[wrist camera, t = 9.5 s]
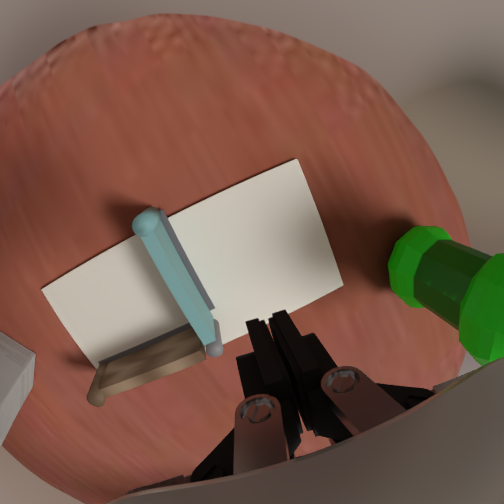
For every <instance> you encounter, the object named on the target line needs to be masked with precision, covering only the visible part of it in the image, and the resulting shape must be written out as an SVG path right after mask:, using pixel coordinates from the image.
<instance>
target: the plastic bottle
mask: <svg viewBox="0 0 504 504" xmlns="http://www.w3.org/2000/svg"><path fill="white" fill-rule="evenodd" d="M388 271H389V280H390V286H391V289H392V291H393V292H394V293H395V294H396V295H397V296H398V297H399V298H401V299H402V300H403V301H404V302H405V303H406V304H407V305H409V306H410V307H415V308H422V307H426V308H427V309H429V310H430V311H431V312H433V313H434V314H436V315H437V316H439V317H440V318H441V319H443V320H444V321H446V322H447V323H448V324H450V325H451V326H453V327H454V328H455V329H457V330H458V331H459V341H460V342H461V343H462V345H463V346H464V347H465V349H466V350H467V351H468V352H469V353H470V355H472V357H473V358H474V359H475V360H476V361H477V362H478V363H479V364H481V365H482V366H483V365H485V364H487V363H489V362H491V361H494V360H496V359H498V358H502V357H504V253H501V254H495V255H494V256H490V255H488V254H485V253H482V252H480V251H478V250H475V249H473V248H470V247H468V246H465V245H462V244H460V243H457V242H455V241H453V240H452V239H451V237H450V236H449V235H448V233H447V232H446V231H445V230H444V229H443V228H440V227H437V226H416V227H413V228H412V229H410V230H409V231H408V232H407V233H406V234H405V235H403V236H402V237H401V238H400V239H399V240H398V241H397V242H396V243H395V246H394V249H393V251H392V254H391V256H390V259H389V261H388Z"/></svg>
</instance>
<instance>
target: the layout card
mask: <svg viewBox="0 0 504 504" xmlns="http://www.w3.org/2000/svg"><path fill="white" fill-rule="evenodd" d="M160 213H161V222H162V224H163V226H164V227H165V229H166V231H167V233H168V235H169V237H170V239H171V241H172V243H173V245H174V247H175V249H176V251H177V252H178V254H179V256H180V258H181V260H182V262H183V264H184V266H185V267H186V269H187V271H188V273H189V275H190V277H191V278H192V280H193V282H194V284H195V286H196V287H197V289H198V291H199V293H200V295H201V296H202V298H203V300H204V302H205V303H206V305H207V307H208V309H209V310H210V312H211V314H212V316H213V319H216V320H217V321H218V322H219V326H220V333H221V339H222V344H225V343H227V342H229V341H231V340H233V339H236V338H238V337H240V336H242V335H244V334H247V333H248V330H247V326H246V323H245V321H249V320H252V319H255V318H258V319H259V321H261V320H265V323H266V324H268V323H269V321H268V318H271V317H272V313H275V312H278V311H281V310H284V309H285V310H286V311H287V313H288V314H289V313H291V312H293V311H295V310H297V309H299V308H301V307H303V306H305V305H307V304H309V303H311V302H313V301H315V300H316V299H318V298H320V297H322V296H324V295H326V294H328V293H330V292H332V291H334V290H336V289H337V288H339V287H341V286H343V282H342V279H341V276H340V273H339V270H338V267H337V264H336V261H335V258H334V255H333V252H332V249H331V246H330V243H329V241H328V238H327V235H326V232H325V229H324V227H323V224H322V221H321V218H320V216H319V213H318V210H317V208H316V205H315V202H314V200H313V197H312V194H311V192H310V189H309V187H308V184H307V182H306V179H305V177H304V174H303V172H302V169H301V167H300V164H299V162H298V159H294V160H292V161H289V162H287V163H285V164H282V165H280V166H277V167H275V168H273V169H270V170H268V171H266V172H264V173H261V174H259V175H257V176H255V177H252V178H250V179H248V180H246V181H243V182H241V183H239V184H237V185H235V186H232V187H230V188H228V189H226V190H224V191H222V192H220V193H217V194H215V195H213V196H211V197H209V198H207V199H205V200H203V201H201V202H199V203H197V204H194V205H192V206H190V207H188V208H186V209H184V210H182V211H180V212H178V213H176V214H174V215H172V216H170V217H168V218H167V216H166V214H165V212H164V210H163V209H162V210H160ZM41 290H42V292H43V293H44V295H45V297H46V298H47V300H48V301H49V303H50V305H51V306H52V308H53V309H54V311H55V313H56V314H57V316H58V317H59V319H60V320H61V322H62V323H63V325H64V326H65V328H66V329H67V331H68V332H69V333H70V335H71V336H72V338H73V339H74V340H75V342H76V343H77V345H78V346H79V347H80V349H81V350H82V351H83V353H84V354H85V355H86V357H87V358H88V359H89V361H90V362H91V363H92V364H93V366H94V367H95V368H96V369H98V367H99V364H100V363H101V362H108V363H109V362H112V361H114V360H117V359H119V358H121V357H124V356H126V355H129V354H131V353H134V352H136V351H138V350H141V349H143V348H145V347H148V346H150V345H152V344H155V343H157V342H159V341H162V340H164V339H166V338H169V337H171V336H173V335H176V334H178V333H180V332H182V331H185V330H187V329H189V328H191V327H192V326H191V324H190V322H189V321H188V319H187V318H186V316H185V314H184V313H183V311H182V309H181V308H180V306H179V304H178V303H177V301H176V299H175V298H174V296H173V294H172V293H171V291H170V289H169V288H168V286H167V284H166V282H165V281H164V279H163V277H162V275H161V274H160V272H159V270H158V268H157V266H156V265H155V263H154V261H153V259H152V257H151V256H150V254H149V252H148V250H147V248H146V246H145V245H144V243H143V241H142V239H141V237H140V236H138V235H134V236H132V237H130V238H128V239H126V240H125V241H123V242H121V243H119V244H117V245H116V246H114V247H112V248H110V249H108V250H107V251H105V252H103V253H101V254H99V255H98V256H96V257H94V258H92V259H91V260H89V261H87V262H86V263H84V264H82V265H80V266H79V267H77V268H75V269H74V270H72V271H70V272H69V273H67V274H65V275H64V276H62V277H60V278H59V279H57V280H55V281H54V282H52V283H50V284H49V285H47V286H46V287H44V288H43V289H41ZM205 350H206V345H205Z"/></svg>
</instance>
